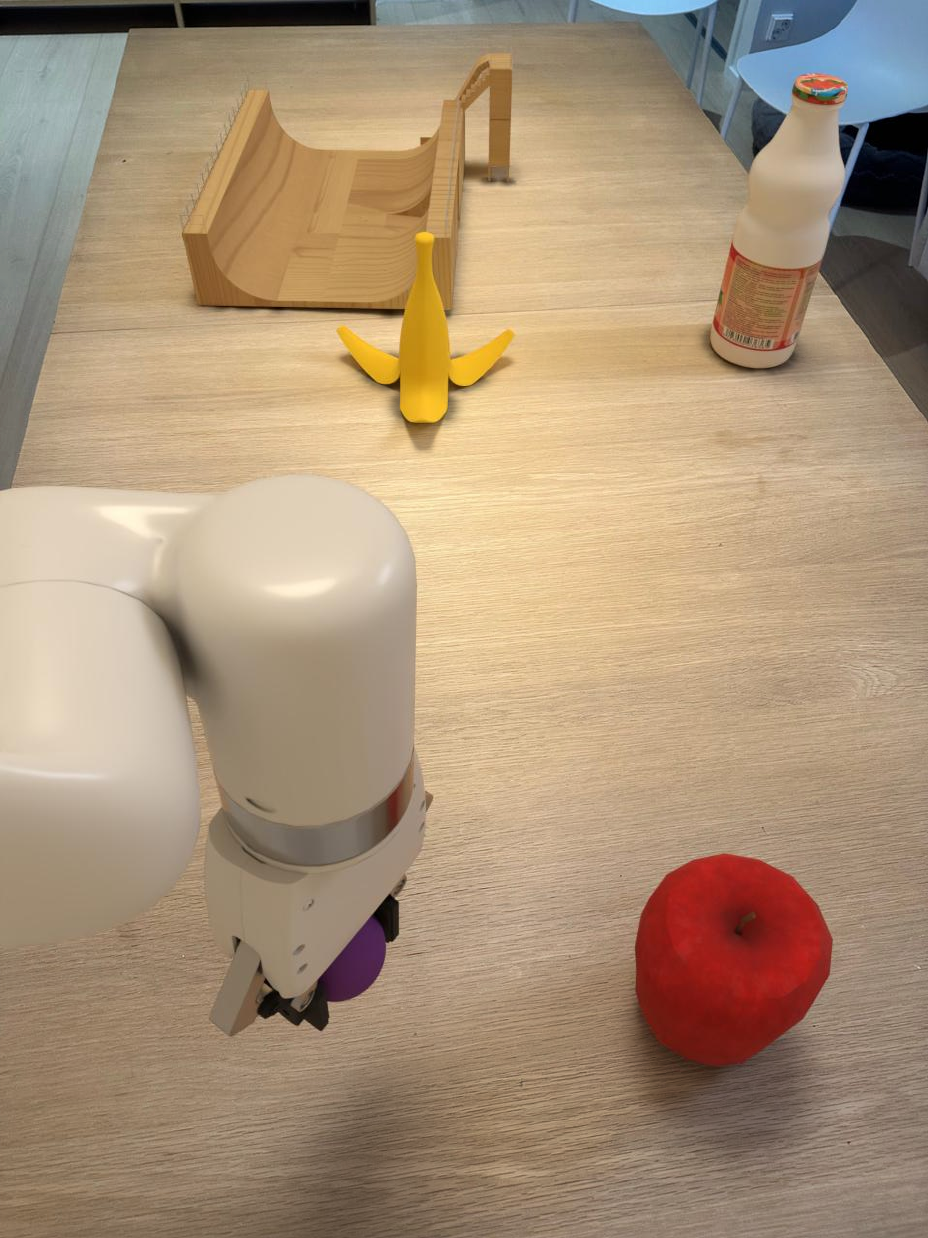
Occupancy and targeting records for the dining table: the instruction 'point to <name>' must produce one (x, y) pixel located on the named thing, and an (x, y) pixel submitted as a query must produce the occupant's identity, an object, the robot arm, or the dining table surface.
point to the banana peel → (424, 349)
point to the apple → (728, 958)
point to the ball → (356, 964)
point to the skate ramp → (335, 208)
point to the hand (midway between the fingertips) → (337, 964)
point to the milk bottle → (782, 230)
